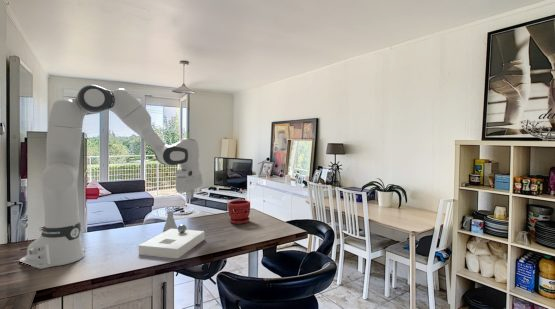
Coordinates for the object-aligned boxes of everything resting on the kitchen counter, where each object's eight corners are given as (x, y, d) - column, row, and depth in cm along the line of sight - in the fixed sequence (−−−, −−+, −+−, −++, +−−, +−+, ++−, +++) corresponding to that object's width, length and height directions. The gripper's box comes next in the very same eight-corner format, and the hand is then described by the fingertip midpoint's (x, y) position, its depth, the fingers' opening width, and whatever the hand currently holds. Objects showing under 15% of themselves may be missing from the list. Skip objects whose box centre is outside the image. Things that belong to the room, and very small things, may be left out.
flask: (172, 232, 153) (172, 213, 152) (160, 231, 154) (160, 212, 154) (180, 228, 160) (180, 210, 159) (168, 227, 161) (167, 209, 161)
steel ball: (175, 233, 138) (175, 225, 138) (180, 231, 142) (180, 223, 142) (183, 234, 138) (183, 226, 137) (188, 232, 142) (188, 223, 141)
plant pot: (250, 218, 181) (250, 199, 180) (249, 225, 168) (249, 204, 167) (229, 218, 180) (229, 199, 180) (226, 225, 167) (226, 204, 167)
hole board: (138, 254, 124) (138, 245, 123) (170, 236, 147) (170, 228, 147) (177, 258, 120) (177, 249, 120) (204, 239, 143) (204, 231, 143)
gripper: (194, 168, 157) (194, 194, 158) (173, 173, 137) (173, 202, 138) (205, 169, 156) (205, 194, 157) (185, 173, 136) (185, 203, 137)
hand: (190, 198), depth 147 cm, fingers closed
